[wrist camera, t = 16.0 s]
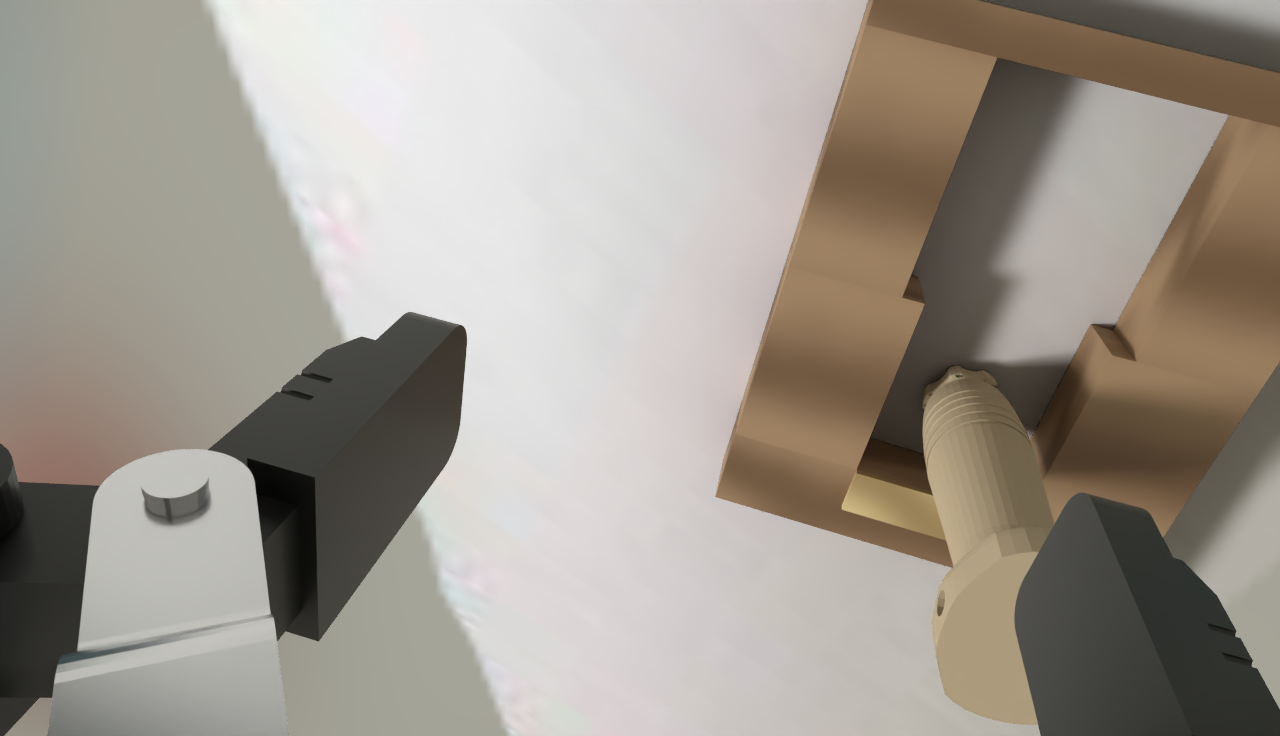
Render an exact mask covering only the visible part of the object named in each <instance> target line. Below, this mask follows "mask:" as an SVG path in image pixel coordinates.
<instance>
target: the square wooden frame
mask: <svg viewBox="0 0 1280 736" xmlns="http://www.w3.org/2000/svg"><path fill="white" fill-rule="evenodd" d="M997 57H998V58H1002V59H1006V60H1010V61H1014V62H1018V63H1022V64H1026V65H1030V66H1034V67H1038V68H1042V69H1046V70H1050V71H1054V72H1058V73H1062V74H1066V75H1070V76H1074V77H1078V78H1082V79H1086V80H1091V81H1095V82H1099V83H1103V84H1107V85H1111V86H1115V87H1119V88H1123V89H1127V90H1131V91H1135V92H1139V93H1143V94H1147V95H1151V96H1155V97H1159V98H1163V99H1167V100H1171V101H1175V102H1179V103H1183V104H1187V105H1191V106H1195V107H1199V108H1203V109H1208V110H1212V111H1216V112H1220V113H1224V114H1228V115H1229V117H1228V119H1227V121H1226V122H1225V124H1224V126H1223V128H1222V130H1221V132H1220V133H1219V135H1218V137H1217V139H1216V141H1215V143H1214V145H1213V146H1212V148H1211V150H1210V152H1209V154H1208V156H1207V157H1206V159H1205V161H1204V163H1203V165H1202V167H1201V169H1200V170H1199V172H1198V174H1197V176H1196V178H1195V180H1194V181H1193V183H1192V185H1191V187H1190V189H1189V191H1188V193H1187V194H1186V196H1185V198H1184V200H1183V202H1182V204H1181V205H1180V207H1179V209H1178V211H1177V213H1176V215H1175V217H1174V218H1173V220H1172V222H1171V224H1170V226H1169V228H1168V229H1167V231H1166V233H1165V235H1164V237H1163V239H1162V241H1161V242H1160V244H1159V246H1158V248H1157V250H1156V252H1155V253H1154V255H1153V257H1152V259H1151V261H1150V263H1149V264H1148V266H1147V268H1146V270H1145V272H1144V274H1143V276H1142V277H1141V279H1140V281H1139V283H1138V285H1137V287H1136V288H1135V290H1134V292H1133V294H1132V296H1131V298H1130V300H1129V301H1128V303H1127V305H1126V307H1125V309H1124V311H1123V312H1122V314H1121V316H1120V318H1119V320H1118V322H1117V324H1116V325H1115V327H1114V329H1113V330H1110V329H1106V328H1103V327H1099V326H1095V325H1092V324H1091V325H1090V327H1089V329H1088V331H1087V333H1086V334H1085V336H1084V338H1083V340H1082V342H1081V344H1080V346H1079V348H1078V350H1077V352H1076V353H1075V355H1074V357H1073V359H1072V361H1071V363H1070V365H1069V367H1068V369H1067V371H1066V373H1065V374H1064V376H1063V378H1062V380H1061V382H1060V384H1059V386H1058V388H1057V390H1056V392H1055V393H1054V395H1053V397H1052V399H1051V401H1050V403H1049V405H1048V407H1047V409H1046V411H1045V412H1044V414H1043V416H1042V418H1041V420H1040V422H1039V424H1038V426H1037V428H1036V430H1035V431H1034V433H1033V435H1032V437H1031V439H1030V442H1031V444H1032V447H1033V450H1034V452H1035V455H1036V458H1037V462H1038V466H1039V469H1040V473H1041V477H1042V480H1043V484H1044V488H1045V491H1046V495H1047V499H1048V502H1049V506H1050V510H1051V513H1052V517H1053V520H1054V523H1055V522H1056V521H1057V519H1058V517H1059V515H1060V513H1061V512H1062V510H1063V508H1064V507H1065V505H1066V503H1067V502H1068V501H1069V500H1070V498H1072V497H1073V496H1074V495H1075V494H1077V493H1087V494H1091V495H1094V496H1098V497H1102V498H1106V499H1109V500H1113V501H1117V502H1121V503H1125V504H1128V505H1132V506H1136V507H1140V508H1143V509H1145V510H1147V511H1148V512H1149V513H1150V515H1151V516H1152V518H1153V520H1154V522H1155V524H1156V525H1157V527H1158V529H1159V531H1160V533H1161V535H1162V537H1164V535H1165V534H1166V532H1167V531H1168V529H1169V528H1170V526H1171V525H1172V523H1173V522H1174V520H1175V519H1176V517H1177V516H1178V514H1179V513H1180V511H1181V510H1182V508H1183V507H1184V505H1185V504H1186V502H1187V501H1188V499H1189V498H1190V496H1191V495H1192V493H1193V492H1194V490H1195V489H1196V487H1197V486H1198V484H1199V483H1200V481H1201V480H1202V478H1203V477H1204V475H1205V474H1206V472H1207V471H1208V469H1209V468H1210V466H1211V465H1212V463H1213V462H1214V460H1215V459H1216V457H1217V456H1218V454H1219V452H1220V451H1221V449H1222V448H1223V446H1224V445H1225V443H1226V442H1227V440H1228V439H1229V437H1230V436H1231V434H1232V433H1233V431H1234V430H1235V428H1236V427H1237V425H1238V424H1239V422H1240V421H1241V419H1242V418H1243V416H1244V415H1245V413H1246V412H1247V410H1248V409H1249V407H1250V406H1251V404H1252V403H1253V401H1254V400H1255V398H1256V397H1257V395H1258V394H1259V392H1260V391H1261V389H1262V388H1263V386H1264V385H1265V383H1266V382H1267V380H1268V379H1269V377H1270V376H1271V374H1272V373H1273V371H1274V370H1275V368H1276V367H1277V365H1278V364H1279V362H1280V73H1279V72H1275V71H1271V70H1267V69H1263V68H1259V67H1254V66H1250V65H1246V64H1242V63H1238V62H1234V61H1230V60H1226V59H1221V58H1217V57H1213V56H1209V55H1205V54H1201V53H1197V52H1193V51H1188V50H1184V49H1180V48H1176V47H1172V46H1168V45H1164V44H1160V43H1156V42H1151V41H1147V40H1143V39H1139V38H1135V37H1131V36H1127V35H1123V34H1118V33H1114V32H1110V31H1106V30H1102V29H1098V28H1094V27H1090V26H1085V25H1081V24H1077V23H1073V22H1069V21H1065V20H1061V19H1057V18H1052V17H1048V16H1044V15H1040V14H1036V13H1032V12H1028V11H1024V10H1019V9H1015V8H1011V7H1007V6H1003V5H999V4H995V3H991V2H987V1H982V0H869V1H868V4H867V7H866V10H865V14H864V17H863V20H862V23H861V26H860V29H859V33H858V36H857V39H856V42H855V45H854V48H853V52H852V55H851V58H850V61H849V64H848V67H847V71H846V74H845V77H844V80H843V83H842V86H841V90H840V93H839V96H838V99H837V102H836V105H835V109H834V112H833V115H832V118H831V121H830V124H829V128H828V131H827V134H826V137H825V140H824V143H823V147H822V150H821V153H820V156H819V159H818V162H817V166H816V169H815V172H814V175H813V178H812V181H811V185H810V188H809V191H808V194H807V197H806V200H805V204H804V207H803V210H802V213H801V216H800V219H799V223H798V226H797V229H796V232H795V235H794V238H793V242H792V245H791V248H790V251H789V254H788V257H787V261H786V264H785V267H784V270H783V273H782V276H781V279H780V283H779V286H778V289H777V292H776V295H775V298H774V302H773V305H772V308H771V311H770V314H769V317H768V321H767V324H766V327H765V330H764V333H763V336H762V340H761V343H760V346H759V349H758V352H757V355H756V359H755V362H754V365H753V368H752V371H751V374H750V378H749V381H748V384H747V387H746V390H745V393H744V397H743V400H742V403H741V406H740V409H739V412H738V416H737V419H736V422H735V425H734V428H733V431H732V435H731V438H730V441H729V444H728V447H727V450H726V454H725V457H724V460H723V464H722V468H721V473H720V478H719V483H718V487H717V492H716V497H718V498H721V499H724V500H728V501H731V502H734V503H738V504H741V505H744V506H748V507H751V508H754V509H758V510H761V511H764V512H768V513H771V514H774V515H778V516H781V517H784V518H788V519H791V520H794V521H798V522H801V523H804V524H808V525H811V526H814V527H818V528H821V529H824V530H828V531H831V532H835V533H838V534H841V535H845V536H848V537H851V538H855V539H858V540H861V541H865V542H868V543H871V544H875V545H878V546H881V547H885V548H888V549H891V550H895V551H898V552H901V553H905V554H908V555H911V556H915V557H918V558H921V559H925V560H928V561H931V562H935V563H938V564H941V565H945V566H948V567H953V563H952V559H951V556H950V552H949V549H948V545H947V541H946V538H945V534H944V531H943V527H942V524H941V520H940V517H939V514H938V510H937V507H936V504H935V500H934V497H933V494H932V490H931V487H930V484H929V480H928V475H927V469H926V463H925V457H924V454H922V453H918V452H915V451H911V450H908V449H904V448H901V447H897V446H894V445H891V444H887V443H884V442H880V441H877V440H873V439H870V436H871V433H872V431H873V429H874V426H875V424H876V421H877V419H878V417H879V414H880V412H881V409H882V407H883V404H884V402H885V400H886V397H887V395H888V392H889V390H890V387H891V385H892V383H893V380H894V378H895V375H896V373H897V371H898V368H899V366H900V363H901V361H902V358H903V356H904V354H905V351H906V349H907V346H908V344H909V341H910V339H911V337H912V334H913V332H914V329H915V327H916V325H917V322H918V320H919V317H920V315H921V312H922V310H923V308H924V305H925V302H924V298H923V295H922V291H921V287H920V283H919V280H918V277H915V276H911V274H912V271H913V269H914V266H915V264H916V261H917V259H918V256H919V254H920V251H921V249H922V246H923V244H924V241H925V239H926V236H927V233H928V231H929V228H930V226H931V223H932V221H933V218H934V216H935V213H936V211H937V208H938V206H939V203H940V201H941V198H942V196H943V193H944V191H945V188H946V186H947V183H948V181H949V178H950V176H951V173H952V170H953V168H954V165H955V163H956V160H957V158H958V155H959V153H960V150H961V148H962V145H963V143H964V140H965V138H966V135H967V133H968V130H969V128H970V125H971V123H972V120H973V118H974V115H975V113H976V110H977V107H978V105H979V102H980V100H981V97H982V95H983V92H984V90H985V87H986V85H987V82H988V80H989V77H990V75H991V72H992V70H993V67H994V65H995V62H996V60H997Z"/></svg>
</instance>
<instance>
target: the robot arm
mask: <svg viewBox="0 0 1280 736" xmlns="http://www.w3.org/2000/svg"><path fill="white" fill-rule="evenodd" d="M466 347H467V335H466V330H465V328H464V327H463V326H462V325H458V324H454V323H451V322H447V321H443V320H439V319H436V318H432V317H428V316H424V315H420V314H417V313H413V312H408V313H406V314H404V315H403V316H402V317H401V318H400V319H399V320H398V321H396V322H395V323H394V324H393V325H392V326H391V327H390V328H389V329H388V330H387V331H386V332H384V333H383V334H382V335H381V336H380V337H379V338H378V339H377V340H372V339H369V338H365V337H359V338H357V339H354V340H351V341H349V342H346V343H344V344H341V345H338V346H336V347H333V348H331V349H328V350H326V351H325V352H323V353H322V354H321V355H320V356H319V357H318V358H316V359H315V360H314V361H313V362H312V363H310V364H309V365H308V366H307V367H306V368H305V369H303V370H302V374H301V375H296V376H295V377H294V378H293V379H291V380H290V381H289V382H288V383H287V384H286V385H284V386H283V387H282V391H281V392H276V393H275V394H274V395H273V396H271V397H270V398H269V399H268V400H267V401H265V402H264V403H263V404H262V405H261V406H259V407H258V408H257V409H256V410H255V411H254V412H252V413H251V414H250V415H249V416H248V417H246V418H245V419H244V420H243V421H242V422H241V423H239V424H238V425H237V426H236V427H235V428H233V429H232V430H231V431H230V432H229V433H228V434H226V435H225V436H224V437H223V438H221V439H220V440H219V441H218V442H217V443H216V444H214V445H213V446H212V447H211V448H210V449H208V450H201V449H185V450H184V449H183V450H173V451H167V452H161V453H157V454H153V455H150V456H146V457H144V458H141V459H138V460H136V461H133V462H131V463H129V464H127V465H125V466H124V467H122V468H120V469H119V470H117V471H115V472H114V473H113V474H112V475H111V476H109V477H108V478H107V479H106V480H105V481H104V482H103V483H102V484H101V486H91V485H69V484H48V483H27V482H18V480H17V475H16V471H15V467H14V463H13V459H12V456H11V454H10V453H9V451H8V450H7V449H6V448H5V447H4V446H3V445H2V444H0V736H4V735H5V734H6V733H7V732H8V731H9V730H10V729H11V728H12V727H13V725H14V724H15V723H16V722H17V721H18V720H19V719H20V718H21V717H22V716H23V715H24V714H25V713H26V712H27V710H28V709H29V708H30V707H31V706H32V705H33V704H34V703H35V702H36V701H37V700H38V699H39V698H40V697H42V698H43V697H44V698H48V697H49V698H52V705H51V712H50V719H49V727H48V735H47V736H289V734H288V726H287V718H286V710H285V701H284V694H283V685H282V677H281V669H280V661H279V653H278V646H277V641H278V640H279V639H280V637H281V636H282V635H283V633H284V632H285V631H287V632H290V633H293V634H297V635H300V636H303V637H306V638H309V639H313V640H316V641H319V640H320V639H321V638H322V636H323V635H324V633H325V632H326V631H327V629H328V628H329V627H330V625H331V624H332V622H333V621H334V620H335V618H336V617H337V615H338V614H339V613H340V611H341V610H342V608H343V607H344V606H345V604H346V603H347V602H348V600H349V599H350V597H351V596H352V595H353V593H354V592H355V590H356V589H357V588H358V586H359V585H360V583H361V582H362V581H363V579H364V578H365V577H366V575H367V574H368V572H369V571H370V570H371V568H372V567H373V565H374V564H375V563H376V561H377V560H378V558H379V557H380V556H381V554H382V553H383V552H384V550H385V549H386V547H387V546H388V545H389V543H390V542H391V540H392V539H393V538H394V536H395V535H396V534H397V532H398V531H399V529H400V528H401V527H402V525H403V524H404V522H405V521H406V520H407V518H408V517H409V515H410V514H411V513H412V511H413V510H414V509H415V507H416V506H417V504H418V503H419V502H420V500H421V499H422V497H423V496H424V495H425V493H426V492H427V491H428V489H429V488H430V486H431V485H432V484H433V482H434V481H435V479H436V478H437V477H438V475H439V474H440V472H441V471H442V470H443V468H444V467H445V465H446V464H447V462H448V460H449V458H450V456H451V454H452V451H453V449H454V446H455V443H456V439H457V436H458V431H459V426H460V418H461V406H462V394H463V382H464V371H465V359H466ZM1014 623H1015V631H1016V635H1017V639H1018V644H1019V648H1020V652H1021V656H1022V660H1023V664H1024V668H1025V672H1026V676H1027V681H1028V685H1029V689H1030V693H1031V697H1032V701H1033V705H1034V709H1035V713H1036V717H1037V722H1038V726H1039V730H1040V734H1041V736H1280V709H1279V707H1278V706H1277V704H1276V702H1275V700H1274V699H1273V696H1272V695H1271V693H1270V691H1269V689H1268V688H1267V686H1266V684H1265V682H1264V680H1263V678H1262V677H1261V675H1260V673H1259V671H1258V669H1256V668H1253V667H1252V661H1253V660H1252V658H1251V657H1250V655H1249V653H1248V651H1247V649H1246V648H1245V646H1244V644H1243V642H1242V640H1241V639H1240V638H1237V637H1235V633H1236V630H1235V628H1234V626H1233V624H1232V622H1231V621H1230V619H1229V617H1228V615H1227V613H1226V611H1225V610H1224V608H1223V606H1222V604H1221V602H1220V600H1219V599H1218V597H1217V595H1216V594H1215V593H1214V592H1213V591H1212V590H1211V589H1210V588H1209V587H1208V586H1207V585H1206V584H1205V583H1204V582H1203V581H1202V580H1201V579H1200V578H1199V577H1198V576H1197V575H1196V574H1195V573H1194V572H1193V571H1192V570H1191V569H1190V568H1189V567H1188V566H1187V565H1186V564H1185V563H1184V562H1183V561H1182V560H1179V559H1175V558H1173V556H1172V554H1171V553H1170V551H1169V549H1168V547H1167V545H1166V543H1165V541H1164V539H1163V537H1162V535H1161V533H1160V531H1159V529H1158V527H1157V525H1156V524H1155V522H1154V520H1153V518H1152V516H1151V515H1150V513H1149V512H1148V511H1147V510H1145V509H1143V508H1140V507H1136V506H1132V505H1128V504H1125V503H1121V502H1117V501H1113V500H1109V499H1106V498H1102V497H1098V496H1094V495H1091V494H1087V493H1077V494H1075V495H1074V496H1073V497H1072V498H1070V500H1069V501H1068V502H1067V503H1066V505H1065V507H1064V508H1063V510H1062V512H1061V513H1060V515H1059V517H1058V519H1057V521H1056V522H1055V524H1054V526H1053V528H1052V529H1051V531H1050V533H1049V535H1048V537H1047V538H1046V540H1045V542H1044V544H1043V545H1042V547H1041V549H1040V551H1039V553H1038V554H1037V556H1036V558H1035V560H1034V561H1033V563H1032V565H1031V567H1030V568H1029V570H1028V572H1027V574H1026V576H1025V577H1024V579H1023V581H1022V583H1021V586H1020V588H1019V592H1018V595H1017V599H1016V605H1015V613H1014Z"/></svg>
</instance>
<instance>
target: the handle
mask: <svg viewBox="0 0 1280 736" xmlns="http://www.w3.org/2000/svg"><path fill="white" fill-rule="evenodd" d="M997 386H998V384H997V382H996V381H995V379H994V378H993V377H992V376H991V375H990V374H989V373H988V372H986V371H984V370H980V371H969V370H965V369H963V368H962V367H961V366H959V365H957V366H952V367H949V368H948V369H947V372H946V373H945V375H944V376H943V377H942V378H941V379H939V380H938V381H936V382H934V383H931V384H928V385H927V386H926V388H925V390H924V393H923V398H922V406H923V409H925V410H924V416H923V448H924V457H925V463H926V469H927V475H928V480H929V484H930V487H931V490H932V494H933V497H934V500H935V504H936V507H937V510H938V514H939V517H940V520H941V524H942V527H943V531H944V534H945V538H946V541H947V545H948V549H949V552H950V556H951V559H952V563H953V567H952V569H951V570H950V571H949V572H948V573H947V574H946V576H945V578H944V579H943V581H942V583H941V585H940V587H939V591H938V595H937V599H936V604H935V609H934V615H933V620H932V626H933V637H934V644H935V651H936V658H937V663H938V668H939V672H940V677H941V680H942V684H943V688H944V692H945V695H946V696H948V697H949V698H950V699H951V700H952V701H953V702H955V703H956V704H958V705H959V706H961V707H962V708H964V709H966V710H968V711H970V712H972V713H975V714H977V715H980V716H983V717H986V718H990V719H993V720H997V721H1002V722H1008V723H1013V724H1026V725H1033V724H1038V722H1037V717H1036V713H1035V709H1034V705H1033V701H1032V697H1031V693H1030V689H1029V685H1028V681H1027V676H1026V672H1025V668H1024V664H1023V660H1022V656H1021V652H1020V648H1019V644H1018V639H1017V635H1016V631H1015V623H1014V613H1015V605H1016V599H1017V595H1018V592H1019V588H1020V586H1021V583H1022V581H1023V579H1024V577H1025V576H1026V574H1027V572H1028V570H1029V568H1030V567H1031V565H1032V563H1033V561H1034V560H1035V558H1036V556H1037V554H1038V553H1039V551H1040V549H1041V547H1042V545H1043V544H1044V542H1045V540H1046V538H1047V537H1048V535H1049V533H1050V531H1051V529H1052V528H1053V526H1054V524H1055V523H1054V520H1053V517H1052V513H1051V510H1050V506H1049V502H1048V499H1047V495H1046V491H1045V488H1044V484H1043V480H1042V477H1041V473H1040V469H1039V466H1038V462H1037V458H1036V455H1035V452H1034V450H1033V447H1032V444H1031V442H1030V440H1029V437H1028V435H1027V433H1026V430H1025V428H1024V426H1023V424H1022V423H1021V421H1020V419H1019V417H1018V415H1017V413H1016V412H1015V410H1014V408H1013V407H1012V405H1011V404H1010V403H1009V401H1008V400H1007V399H1006V398H1005V396H1004V395H1003V394H1002V393H1001V392H1000V391H999V390H998V389H997Z"/></svg>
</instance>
